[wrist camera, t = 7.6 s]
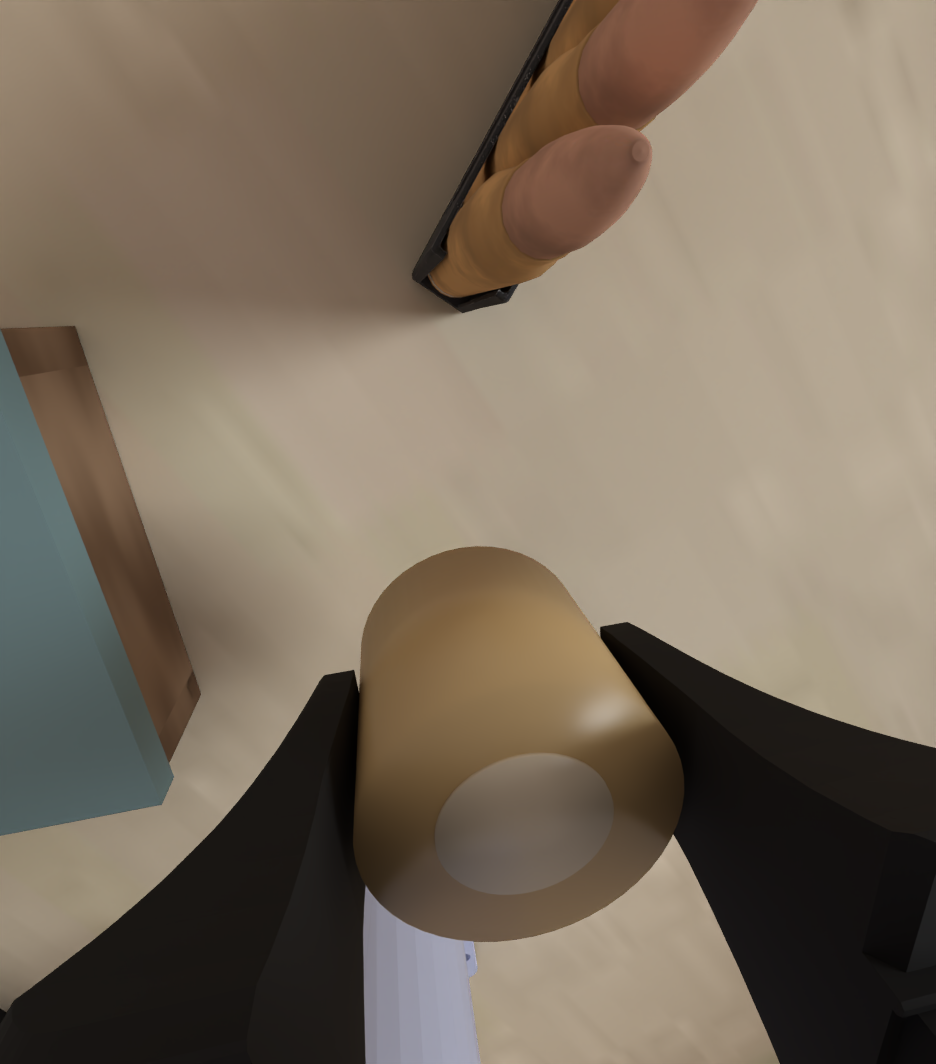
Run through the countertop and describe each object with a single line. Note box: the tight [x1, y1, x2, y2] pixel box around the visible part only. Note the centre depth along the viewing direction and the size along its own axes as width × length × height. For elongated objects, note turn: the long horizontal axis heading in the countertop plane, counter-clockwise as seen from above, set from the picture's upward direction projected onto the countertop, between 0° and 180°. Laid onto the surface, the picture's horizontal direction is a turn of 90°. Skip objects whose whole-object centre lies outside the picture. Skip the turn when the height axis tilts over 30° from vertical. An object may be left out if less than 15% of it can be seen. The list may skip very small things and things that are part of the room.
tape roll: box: [353, 546, 684, 942], centre depth 11 cm, size 5×5×5 cm
